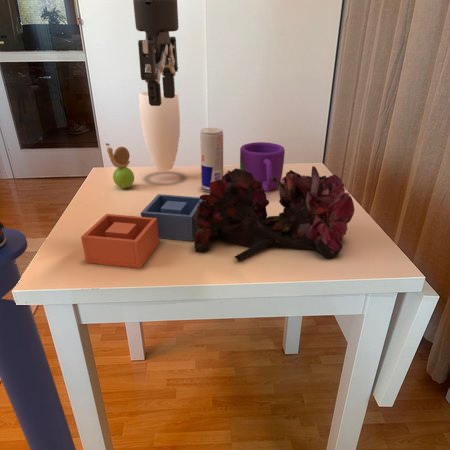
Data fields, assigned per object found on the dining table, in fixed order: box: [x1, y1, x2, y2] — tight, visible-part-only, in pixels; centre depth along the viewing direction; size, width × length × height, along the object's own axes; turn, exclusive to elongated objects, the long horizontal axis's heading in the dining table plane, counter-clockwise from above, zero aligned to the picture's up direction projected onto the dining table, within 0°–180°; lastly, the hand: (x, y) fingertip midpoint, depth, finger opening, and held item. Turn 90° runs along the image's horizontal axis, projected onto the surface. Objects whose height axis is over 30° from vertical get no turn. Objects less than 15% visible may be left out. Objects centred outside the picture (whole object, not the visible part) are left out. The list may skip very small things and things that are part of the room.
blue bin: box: [140, 193, 203, 242], centre depth 89 cm, size 11×11×5 cm
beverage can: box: [199, 127, 224, 193], centre depth 106 cm, size 6×6×15 cm
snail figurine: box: [105, 142, 135, 189], centre depth 107 cm, size 5×6×12 cm
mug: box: [239, 141, 286, 193], centre depth 107 cm, size 17×11×10 cm, turn 6°
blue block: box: [161, 201, 188, 215], centre depth 88 cm, size 4×4×4 cm
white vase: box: [138, 90, 181, 171], centre depth 111 cm, size 10×10×22 cm
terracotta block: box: [105, 222, 138, 240], centre depth 79 cm, size 4×4×4 cm
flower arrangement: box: [194, 165, 356, 262], centre depth 82 cm, size 31×20×15 cm, turn 91°
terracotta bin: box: [80, 213, 160, 269], centre depth 80 cm, size 11×11×5 cm
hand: (162, 101), depth 81 cm, fingers open, 8 cm apart
